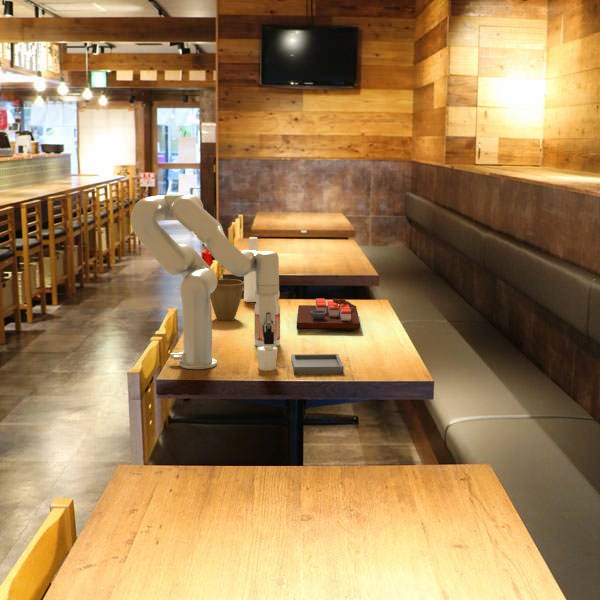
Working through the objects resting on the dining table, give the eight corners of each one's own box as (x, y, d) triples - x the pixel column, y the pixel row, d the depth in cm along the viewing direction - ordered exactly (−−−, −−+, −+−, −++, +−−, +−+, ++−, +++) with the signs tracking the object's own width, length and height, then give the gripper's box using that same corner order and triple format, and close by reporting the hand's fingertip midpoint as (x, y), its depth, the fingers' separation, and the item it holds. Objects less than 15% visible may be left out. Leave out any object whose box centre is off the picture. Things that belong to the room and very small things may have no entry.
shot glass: (266, 364, 281) (266, 344, 279) (281, 368, 276) (281, 347, 275) (252, 368, 275) (252, 348, 274) (268, 372, 271) (268, 351, 270)
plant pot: (217, 324, 340) (217, 285, 337) (202, 317, 353) (202, 280, 350) (249, 320, 348) (249, 282, 345) (234, 314, 360) (234, 277, 357)
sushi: (355, 316, 360) (356, 288, 358) (359, 334, 326) (360, 304, 324) (298, 315, 361) (298, 288, 358) (296, 333, 326) (296, 303, 324)
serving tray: (294, 374, 269) (294, 367, 268) (291, 361, 284) (291, 354, 284) (343, 373, 270) (343, 366, 269) (337, 361, 285) (338, 353, 285)
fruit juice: (249, 344, 307) (248, 269, 302) (266, 340, 314) (266, 266, 309) (267, 349, 301) (267, 272, 295) (285, 344, 308) (285, 269, 302)
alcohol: (265, 300, 392) (265, 236, 386) (260, 303, 383) (259, 238, 377) (247, 299, 394) (246, 236, 388) (241, 302, 385) (241, 238, 379)
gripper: (255, 285, 279) (256, 334, 282) (256, 294, 262) (257, 347, 265) (277, 284, 280) (278, 334, 283) (280, 293, 263) (281, 346, 266)
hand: (268, 340), depth 274 cm, fingers open, 9 cm apart
